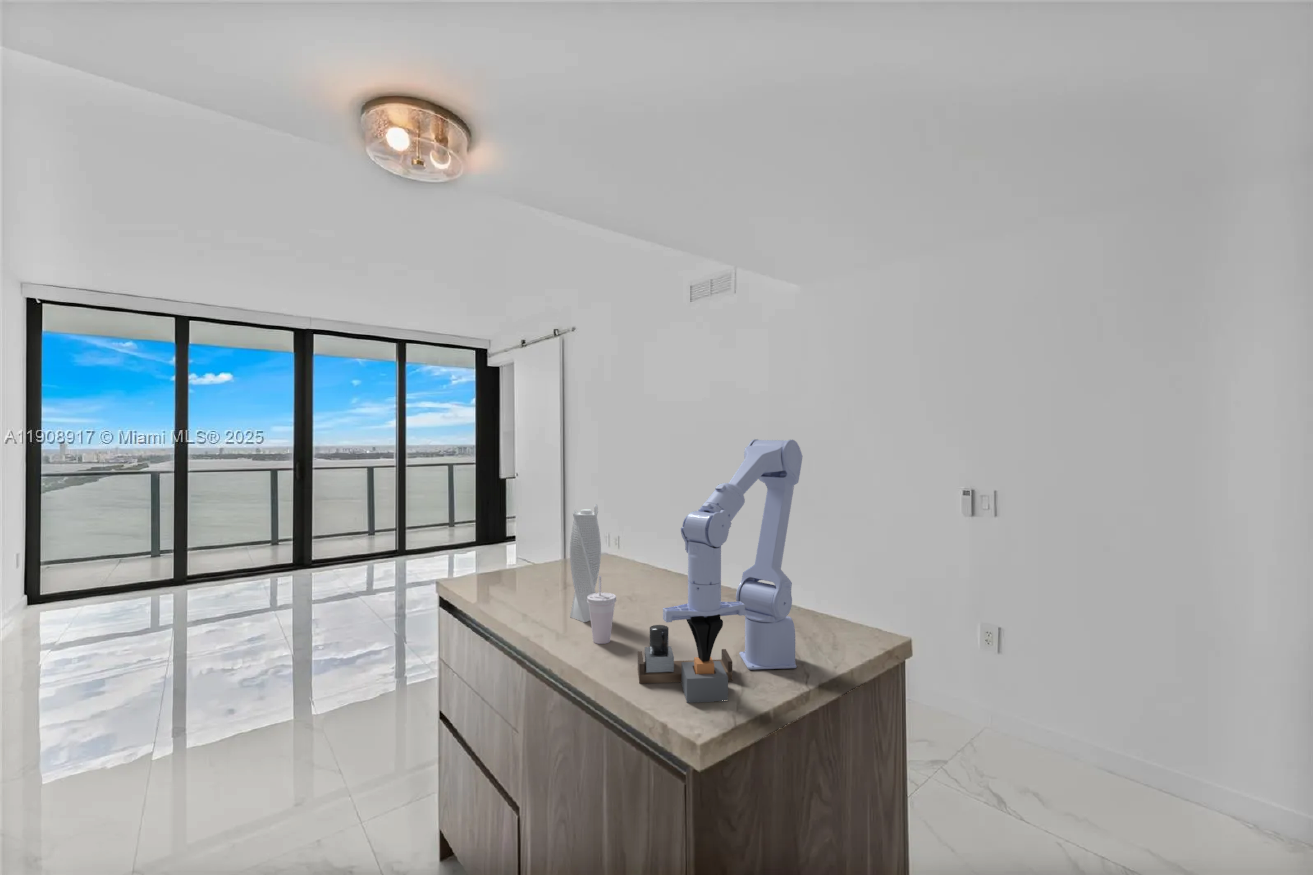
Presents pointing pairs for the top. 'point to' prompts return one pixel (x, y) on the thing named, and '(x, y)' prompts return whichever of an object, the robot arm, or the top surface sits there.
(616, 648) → the top surface
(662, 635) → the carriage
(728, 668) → the rail
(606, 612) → the smoothie
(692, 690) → the block
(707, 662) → the button
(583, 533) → the skyscraper
